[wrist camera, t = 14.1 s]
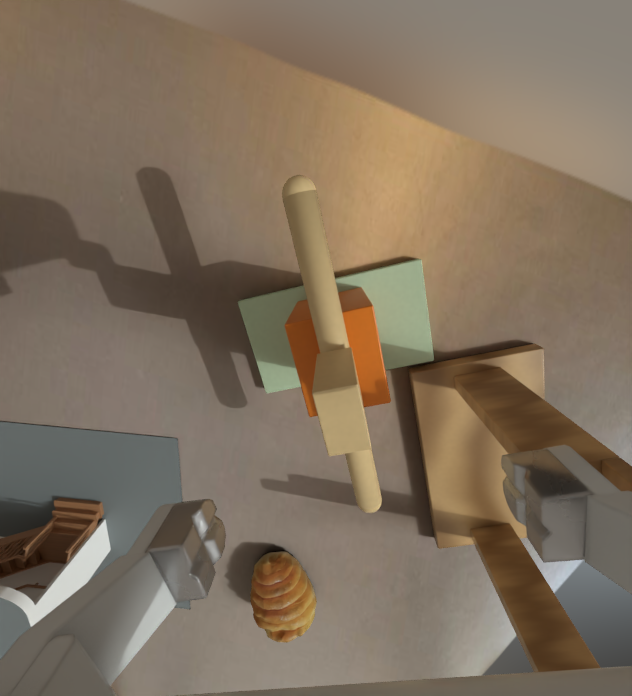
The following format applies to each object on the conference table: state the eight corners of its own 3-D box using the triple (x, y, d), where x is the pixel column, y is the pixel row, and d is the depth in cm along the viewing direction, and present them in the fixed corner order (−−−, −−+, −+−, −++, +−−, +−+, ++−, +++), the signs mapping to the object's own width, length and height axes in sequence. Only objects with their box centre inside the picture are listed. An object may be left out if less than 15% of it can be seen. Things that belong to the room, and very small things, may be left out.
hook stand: (534, 343, 25) (817, 487, 11) (538, 524, 31) (725, 781, 16) (407, 367, 26) (502, 527, 12) (434, 538, 32) (520, 788, 17)
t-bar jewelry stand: (343, 188, 22) (358, 119, 9) (389, 432, 28) (435, 588, 15) (272, 206, 22) (198, 166, 10) (332, 441, 28) (333, 599, 16)
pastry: (242, 548, 34) (231, 585, 30) (304, 542, 33) (301, 579, 30) (263, 608, 37) (256, 649, 33) (320, 603, 36) (319, 644, 32)
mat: (418, 258, 24) (421, 259, 23) (431, 357, 26) (434, 360, 25) (240, 300, 25) (237, 301, 24) (267, 389, 28) (266, 393, 27)
